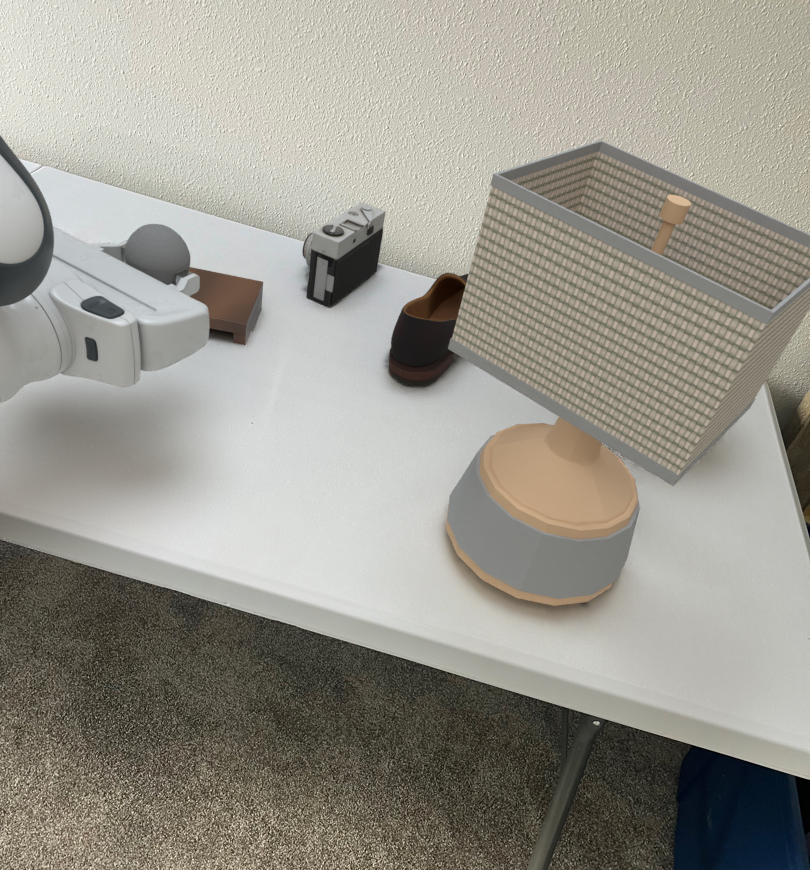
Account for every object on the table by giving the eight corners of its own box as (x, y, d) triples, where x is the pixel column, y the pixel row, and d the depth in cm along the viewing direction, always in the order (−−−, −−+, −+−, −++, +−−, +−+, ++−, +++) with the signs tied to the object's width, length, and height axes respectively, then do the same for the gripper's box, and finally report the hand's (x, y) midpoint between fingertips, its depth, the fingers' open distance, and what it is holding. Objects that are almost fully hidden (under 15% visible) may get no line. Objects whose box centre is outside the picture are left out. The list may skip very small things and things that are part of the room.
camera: (331, 254, 119) (339, 188, 112) (378, 273, 117) (389, 208, 110) (281, 287, 109) (286, 217, 102) (332, 309, 108) (341, 240, 101)
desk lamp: (393, 531, 80) (484, 163, 54) (496, 457, 92) (612, 125, 66) (568, 661, 72) (773, 306, 46) (657, 562, 84) (859, 234, 58)
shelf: (114, 327, 95) (111, 298, 93) (140, 285, 103) (139, 256, 100) (244, 352, 97) (246, 324, 94) (261, 308, 105) (263, 281, 102)
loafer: (510, 316, 116) (529, 253, 109) (434, 404, 97) (452, 335, 90) (452, 292, 118) (468, 229, 111) (367, 375, 98) (379, 305, 92)
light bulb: (171, 345, 77) (168, 249, 70) (116, 326, 77) (108, 228, 70) (201, 319, 81) (202, 226, 74) (150, 300, 82) (145, 206, 75)
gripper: (-30, 299, 71) (87, 253, 80) (142, 397, 66) (246, 336, 75) (-45, 233, 67) (81, 192, 76) (138, 332, 62) (249, 276, 71)
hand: (165, 264), depth 76 cm, fingers closed on light bulb, 6 cm apart
